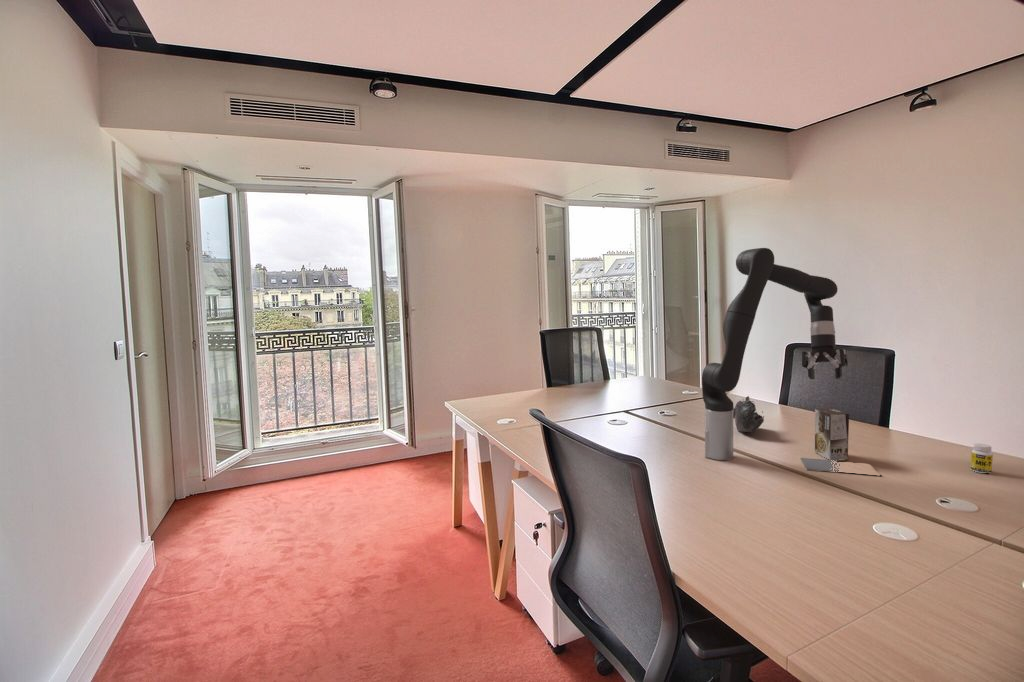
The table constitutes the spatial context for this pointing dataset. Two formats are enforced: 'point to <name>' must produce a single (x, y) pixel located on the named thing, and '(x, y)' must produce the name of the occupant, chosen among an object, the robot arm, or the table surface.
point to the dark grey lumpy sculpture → (747, 416)
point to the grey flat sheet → (819, 464)
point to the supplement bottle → (981, 458)
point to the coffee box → (831, 433)
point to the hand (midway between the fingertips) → (824, 379)
